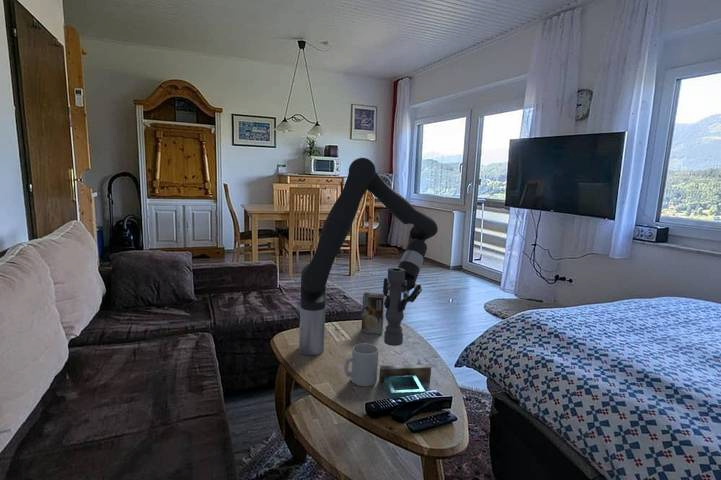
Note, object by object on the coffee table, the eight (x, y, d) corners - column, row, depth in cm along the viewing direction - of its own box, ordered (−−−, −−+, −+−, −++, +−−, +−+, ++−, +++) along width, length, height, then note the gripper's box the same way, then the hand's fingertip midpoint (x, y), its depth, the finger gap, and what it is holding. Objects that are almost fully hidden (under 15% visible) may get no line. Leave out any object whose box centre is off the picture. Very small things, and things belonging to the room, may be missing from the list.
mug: (366, 371, 139) (368, 341, 137) (381, 382, 132) (384, 350, 130) (337, 379, 132) (338, 348, 130) (351, 392, 125) (353, 359, 123)
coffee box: (383, 329, 177) (385, 293, 174) (381, 334, 171) (384, 298, 168) (362, 326, 179) (364, 291, 176) (360, 332, 172) (362, 296, 170)
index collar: (390, 403, 120) (391, 392, 120) (383, 385, 130) (383, 375, 130) (424, 401, 122) (425, 391, 121) (414, 384, 132) (414, 374, 132)
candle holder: (402, 339, 138) (406, 268, 135) (402, 346, 132) (405, 272, 128) (384, 337, 139) (387, 267, 135) (383, 345, 133) (386, 271, 129)
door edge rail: (380, 384, 131) (381, 368, 130) (378, 380, 133) (379, 365, 132) (430, 382, 134) (431, 367, 133) (428, 379, 136) (429, 364, 135)
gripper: (388, 257, 141) (370, 299, 133) (427, 263, 134) (411, 308, 126) (393, 269, 147) (376, 310, 138) (431, 276, 140) (415, 319, 132)
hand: (393, 308), depth 132 cm, fingers closed on candle holder, 4 cm apart
